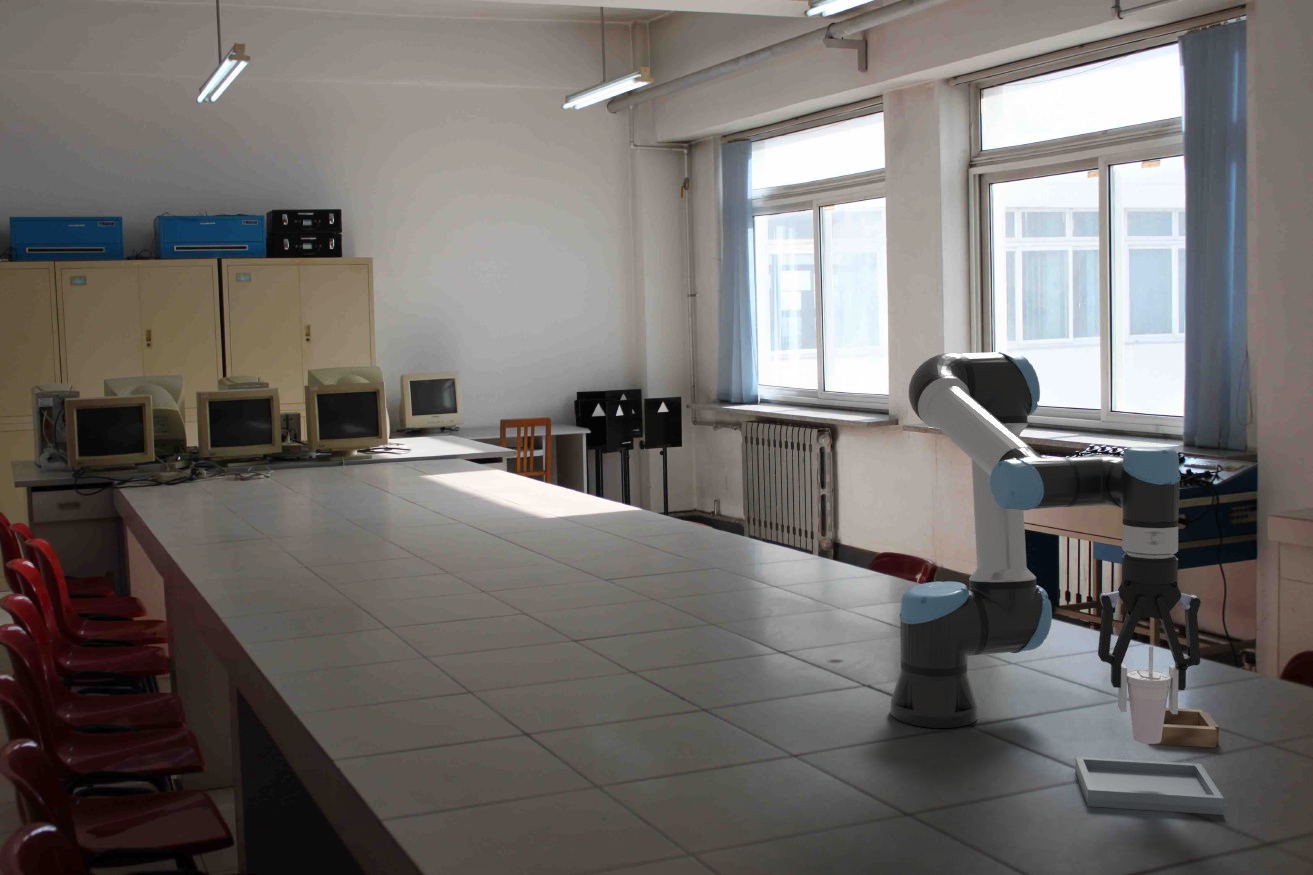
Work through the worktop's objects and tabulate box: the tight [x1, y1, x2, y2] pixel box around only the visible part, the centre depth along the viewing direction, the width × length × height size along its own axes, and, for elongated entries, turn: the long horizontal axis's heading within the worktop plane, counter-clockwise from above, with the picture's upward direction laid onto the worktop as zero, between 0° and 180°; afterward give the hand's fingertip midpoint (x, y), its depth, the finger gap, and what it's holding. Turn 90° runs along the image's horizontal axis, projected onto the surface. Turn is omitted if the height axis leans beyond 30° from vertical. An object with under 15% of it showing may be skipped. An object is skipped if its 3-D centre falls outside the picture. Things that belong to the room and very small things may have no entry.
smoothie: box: [1127, 645, 1172, 745], centre depth 174 cm, size 6×6×14 cm
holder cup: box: [1156, 707, 1220, 748], centre depth 201 cm, size 11×11×3 cm
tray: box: [1074, 756, 1225, 816], centre depth 175 cm, size 18×14×2 cm
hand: (1147, 709), depth 174 cm, fingers closed on smoothie, 6 cm apart
